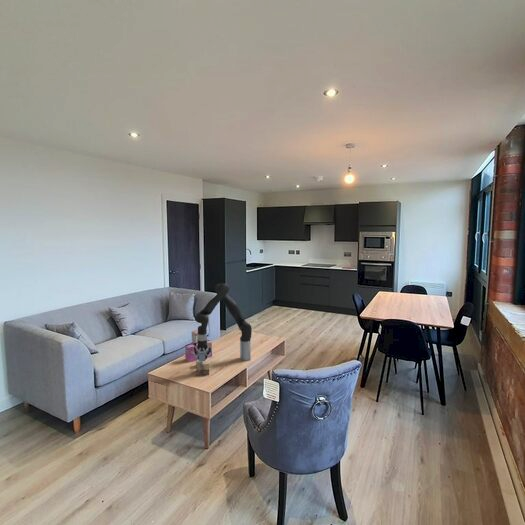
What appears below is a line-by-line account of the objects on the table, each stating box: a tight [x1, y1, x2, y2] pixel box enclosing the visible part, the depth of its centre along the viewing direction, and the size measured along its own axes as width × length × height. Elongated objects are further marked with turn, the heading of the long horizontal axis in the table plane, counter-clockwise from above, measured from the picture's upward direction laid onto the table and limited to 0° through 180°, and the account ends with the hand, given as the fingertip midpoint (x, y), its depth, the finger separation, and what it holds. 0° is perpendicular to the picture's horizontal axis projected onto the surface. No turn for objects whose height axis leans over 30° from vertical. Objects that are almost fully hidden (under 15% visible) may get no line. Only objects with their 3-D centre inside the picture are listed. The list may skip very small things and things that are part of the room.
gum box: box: [184, 339, 213, 363], centre depth 287 cm, size 24×8×14 cm, turn 124°
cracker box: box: [191, 329, 198, 344], centre depth 301 cm, size 14×6×21 cm, turn 142°
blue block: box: [199, 352, 206, 362], centre depth 257 cm, size 5×5×6 cm
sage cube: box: [195, 360, 204, 365], centre depth 270 cm, size 5×5×5 cm
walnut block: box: [195, 363, 210, 377], centre depth 258 cm, size 10×10×5 cm
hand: (202, 359), depth 257 cm, fingers closed on blue block, 5 cm apart
